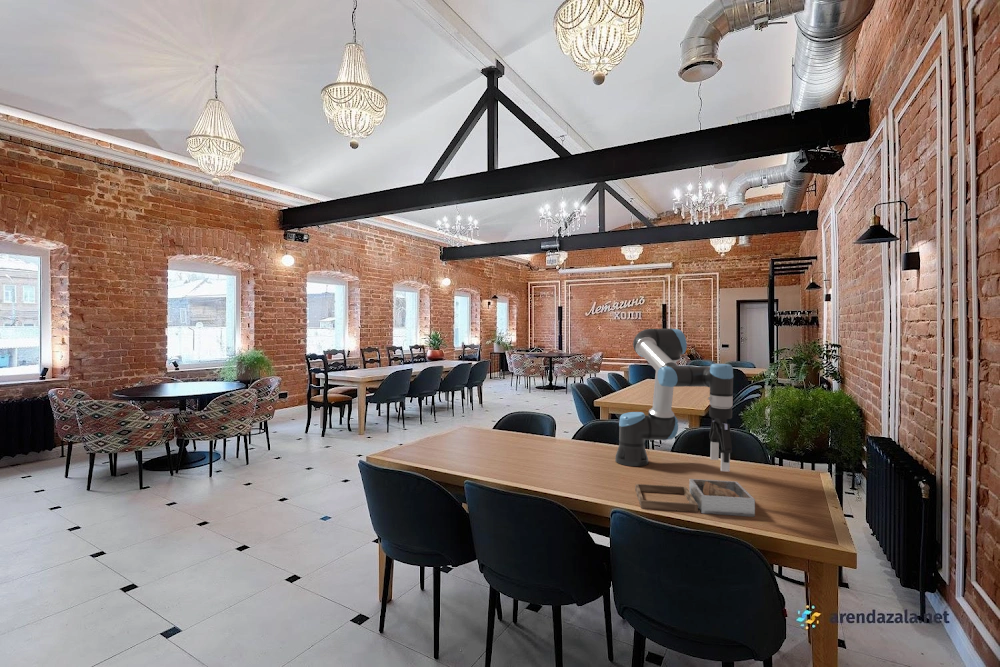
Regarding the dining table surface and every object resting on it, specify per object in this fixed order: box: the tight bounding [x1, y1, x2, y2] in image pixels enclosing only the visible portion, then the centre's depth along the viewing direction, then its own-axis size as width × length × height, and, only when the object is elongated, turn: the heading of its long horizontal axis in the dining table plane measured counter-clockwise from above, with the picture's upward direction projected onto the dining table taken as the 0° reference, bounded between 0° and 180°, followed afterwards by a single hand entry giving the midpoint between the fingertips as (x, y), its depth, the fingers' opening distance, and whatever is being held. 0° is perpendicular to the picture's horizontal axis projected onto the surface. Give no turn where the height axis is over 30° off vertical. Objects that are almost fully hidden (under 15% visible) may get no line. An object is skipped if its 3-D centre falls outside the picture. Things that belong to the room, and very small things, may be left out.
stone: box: [703, 481, 739, 497], centre depth 169 cm, size 10×11×10 cm
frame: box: [635, 483, 699, 513], centre depth 174 cm, size 19×19×2 cm
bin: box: [688, 478, 756, 518], centre depth 170 cm, size 19×17×6 cm
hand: (719, 465), depth 170 cm, fingers open, 13 cm apart
